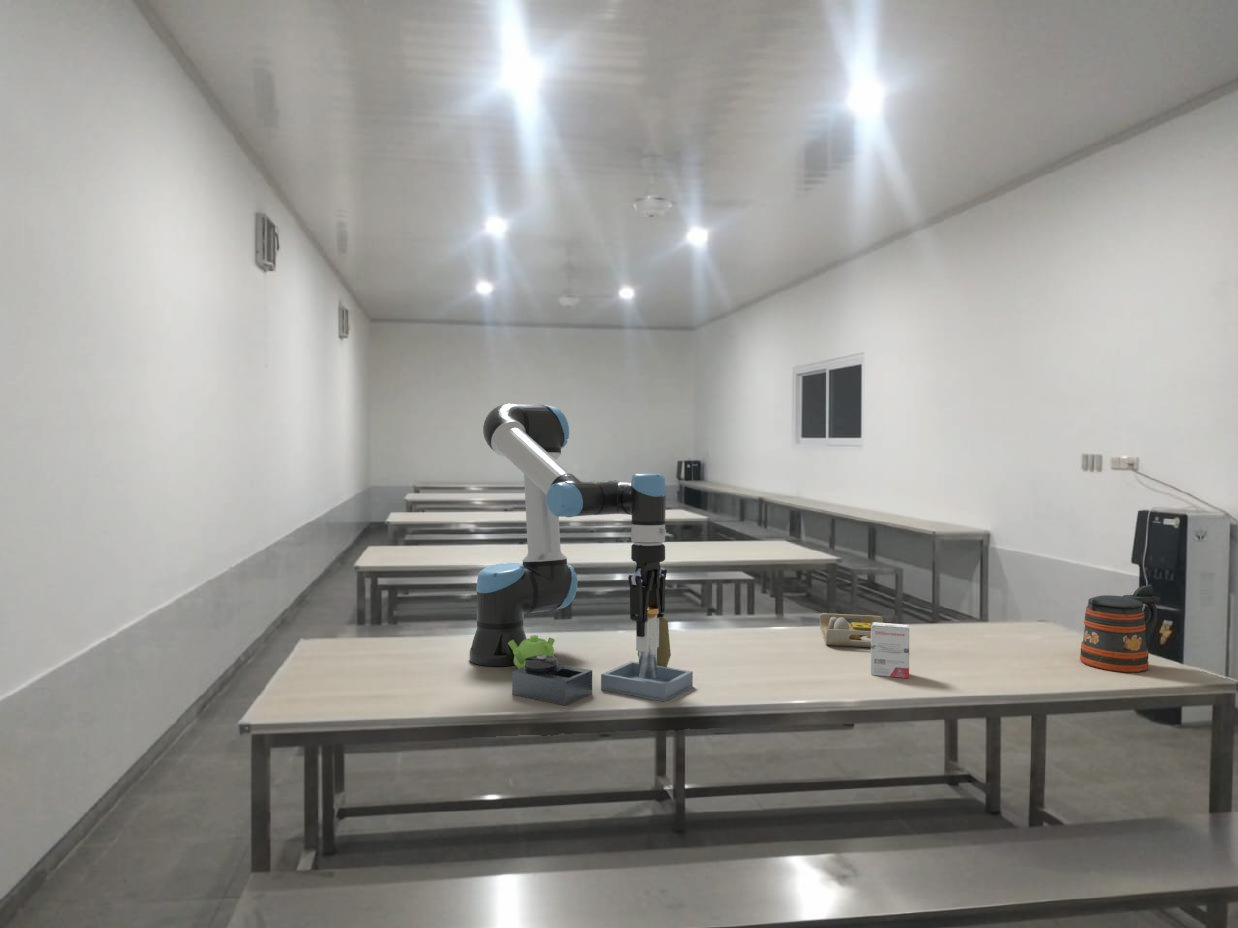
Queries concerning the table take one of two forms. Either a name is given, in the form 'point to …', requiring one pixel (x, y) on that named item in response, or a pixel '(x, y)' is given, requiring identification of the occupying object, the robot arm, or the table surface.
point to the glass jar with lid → (650, 648)
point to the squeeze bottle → (663, 643)
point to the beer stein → (1119, 631)
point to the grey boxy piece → (551, 681)
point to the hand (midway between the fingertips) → (647, 648)
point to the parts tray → (647, 682)
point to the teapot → (531, 649)
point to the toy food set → (847, 629)
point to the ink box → (890, 650)
